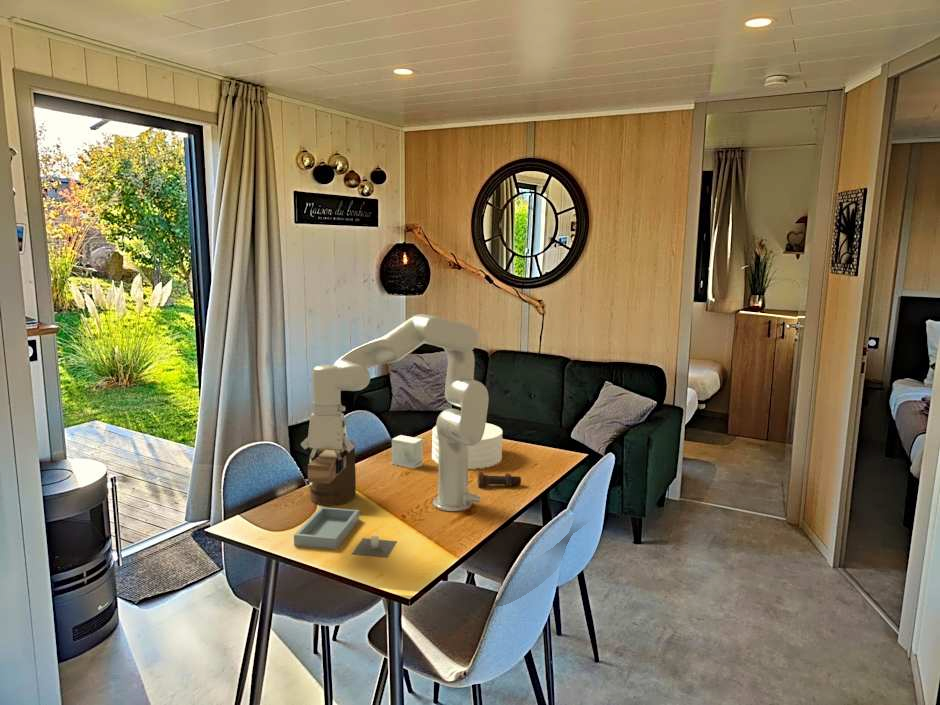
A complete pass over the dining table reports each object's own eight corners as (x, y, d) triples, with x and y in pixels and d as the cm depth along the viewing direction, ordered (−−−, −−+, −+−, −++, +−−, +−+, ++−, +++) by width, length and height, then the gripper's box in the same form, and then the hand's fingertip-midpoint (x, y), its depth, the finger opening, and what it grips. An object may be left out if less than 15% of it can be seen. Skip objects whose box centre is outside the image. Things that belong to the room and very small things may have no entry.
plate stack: (475, 443, 280) (476, 417, 279) (515, 461, 258) (516, 433, 256) (418, 453, 265) (419, 426, 263) (456, 474, 242) (457, 444, 240)
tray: (359, 522, 197) (359, 510, 196) (336, 552, 177) (335, 538, 177) (321, 519, 199) (321, 506, 198) (294, 548, 179) (293, 534, 179)
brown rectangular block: (328, 483, 178) (328, 466, 177) (307, 482, 179) (307, 464, 178) (346, 467, 192) (346, 450, 191) (326, 465, 192) (326, 449, 192)
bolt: (520, 491, 231) (478, 490, 229) (518, 480, 234) (477, 479, 233) (522, 481, 227) (479, 479, 226) (521, 469, 231) (478, 468, 229)
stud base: (397, 544, 183) (397, 531, 182) (387, 561, 173) (387, 547, 173) (362, 541, 184) (362, 528, 184) (351, 557, 175) (351, 543, 174)
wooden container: (320, 487, 225) (319, 425, 222) (361, 491, 223) (361, 428, 219) (302, 503, 211) (301, 437, 207) (346, 507, 208) (345, 441, 205)
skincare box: (391, 465, 250) (391, 438, 248) (400, 460, 256) (400, 434, 254) (414, 469, 245) (414, 442, 244) (423, 464, 251) (423, 438, 249)
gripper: (360, 408, 185) (361, 469, 187) (302, 404, 187) (304, 464, 190) (352, 414, 177) (352, 477, 180) (292, 410, 180) (293, 473, 183)
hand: (327, 470), depth 185 cm, fingers closed on brown rectangular block, 6 cm apart
